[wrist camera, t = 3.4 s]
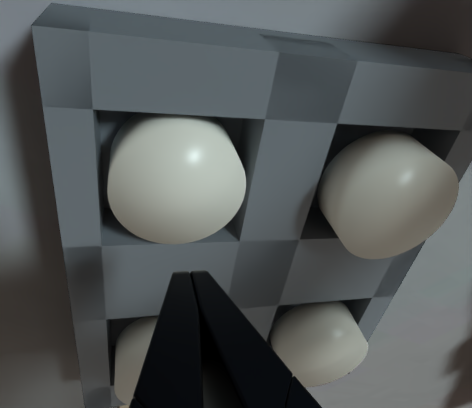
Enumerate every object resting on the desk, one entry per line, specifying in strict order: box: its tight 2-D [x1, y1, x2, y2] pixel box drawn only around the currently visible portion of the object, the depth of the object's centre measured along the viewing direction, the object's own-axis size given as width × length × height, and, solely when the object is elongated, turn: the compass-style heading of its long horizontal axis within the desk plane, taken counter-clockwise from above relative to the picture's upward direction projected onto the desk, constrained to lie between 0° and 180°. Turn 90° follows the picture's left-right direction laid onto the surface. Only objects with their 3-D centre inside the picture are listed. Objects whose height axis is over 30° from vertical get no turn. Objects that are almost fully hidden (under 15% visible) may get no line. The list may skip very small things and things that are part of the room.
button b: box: [107, 112, 246, 244], centre depth 13 cm, size 4×4×2 cm
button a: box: [317, 130, 459, 259], centre depth 14 cm, size 4×4×2 cm
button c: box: [270, 301, 368, 387], centre depth 19 cm, size 4×4×2 cm
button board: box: [31, 3, 472, 408], centre depth 17 cm, size 15×18×3 cm
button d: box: [114, 315, 159, 406], centre depth 17 cm, size 4×4×2 cm
